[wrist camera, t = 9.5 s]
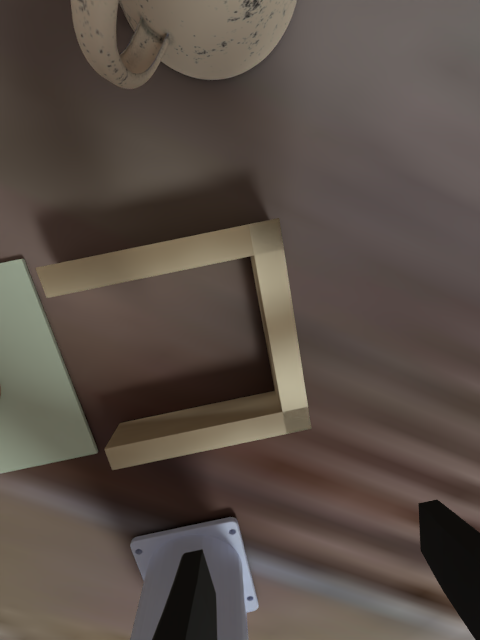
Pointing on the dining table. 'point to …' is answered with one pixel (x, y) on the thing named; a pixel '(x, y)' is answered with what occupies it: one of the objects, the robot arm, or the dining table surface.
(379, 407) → the dining table surface
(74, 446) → the felt mat
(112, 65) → the teacup with lid
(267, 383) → the dining table surface
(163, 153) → the dining table surface
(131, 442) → the frame
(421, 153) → the dining table surface
